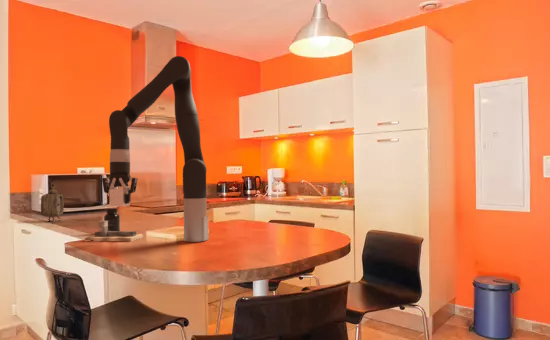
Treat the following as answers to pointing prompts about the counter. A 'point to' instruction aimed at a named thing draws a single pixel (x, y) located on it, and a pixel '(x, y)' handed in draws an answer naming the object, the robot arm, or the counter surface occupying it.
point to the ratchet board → (114, 238)
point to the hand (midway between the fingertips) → (119, 203)
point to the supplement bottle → (112, 219)
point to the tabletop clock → (52, 203)
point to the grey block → (117, 197)
